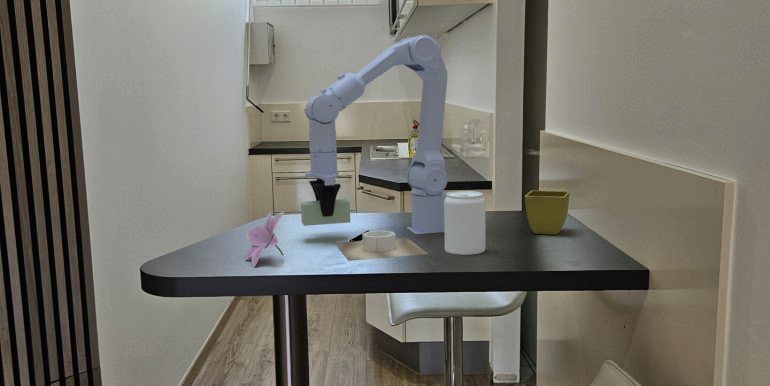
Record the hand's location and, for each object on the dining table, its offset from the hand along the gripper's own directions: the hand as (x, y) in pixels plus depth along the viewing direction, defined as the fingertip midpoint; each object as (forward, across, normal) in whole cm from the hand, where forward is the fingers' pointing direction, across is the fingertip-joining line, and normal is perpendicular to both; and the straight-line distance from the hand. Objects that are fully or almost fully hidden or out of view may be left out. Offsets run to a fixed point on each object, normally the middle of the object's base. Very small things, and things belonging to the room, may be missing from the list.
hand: (325, 214), depth 153 cm
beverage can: (+6, +19, +25) cm, 32 cm away
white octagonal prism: (+6, +12, +9) cm, 16 cm away
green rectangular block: (+2, 0, 0) cm, 2 cm away
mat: (+6, +12, +9) cm, 16 cm away
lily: (+6, +12, -14) cm, 20 cm away
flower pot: (+7, +7, +49) cm, 50 cm away
